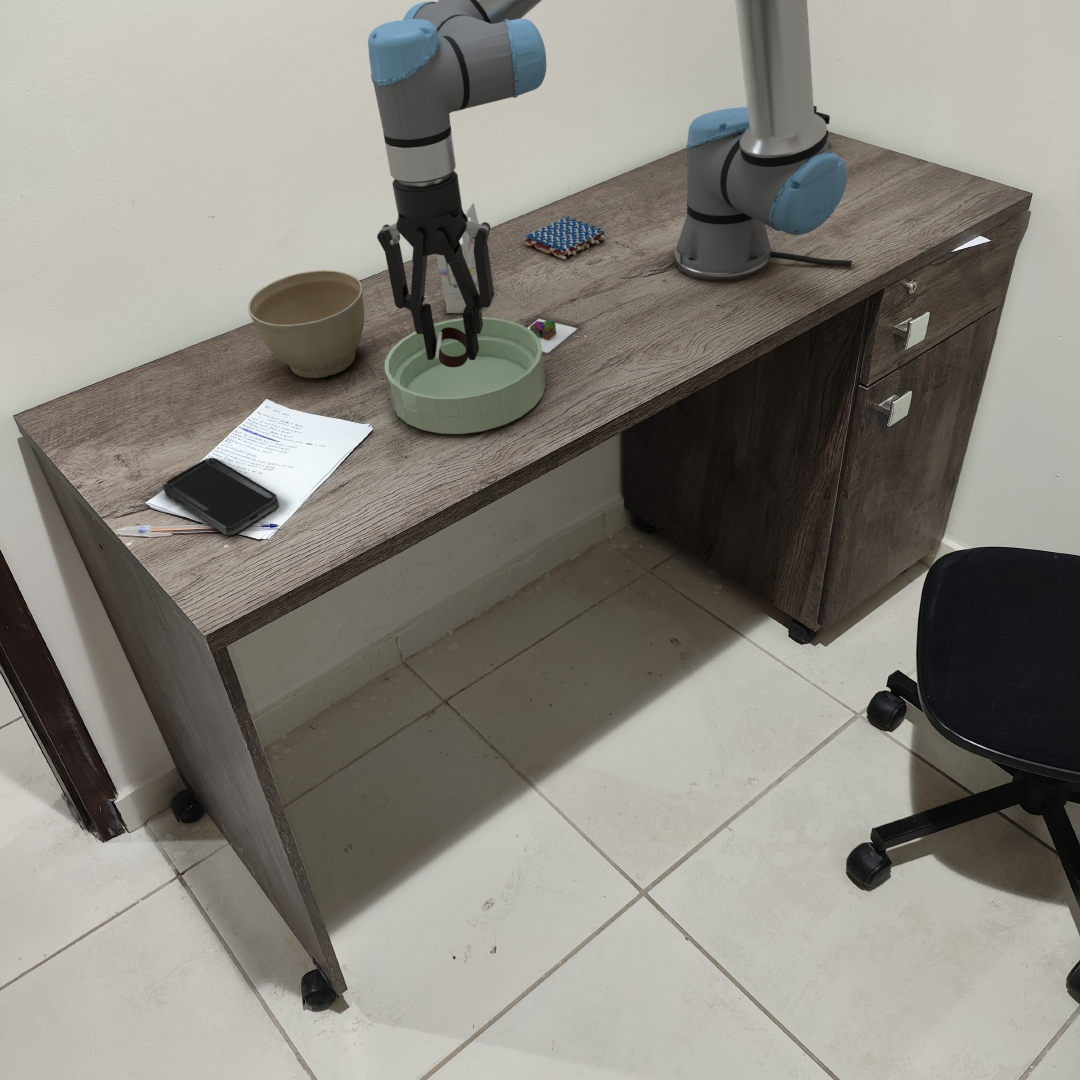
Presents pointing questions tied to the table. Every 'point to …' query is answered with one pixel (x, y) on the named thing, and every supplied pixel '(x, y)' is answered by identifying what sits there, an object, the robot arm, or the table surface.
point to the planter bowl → (311, 320)
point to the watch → (456, 335)
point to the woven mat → (564, 237)
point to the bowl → (467, 379)
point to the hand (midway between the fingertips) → (453, 354)
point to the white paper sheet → (550, 333)
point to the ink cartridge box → (449, 283)
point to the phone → (221, 496)
